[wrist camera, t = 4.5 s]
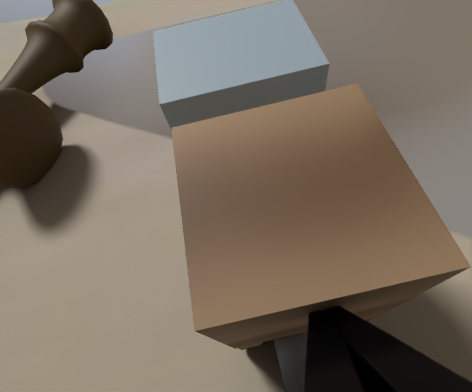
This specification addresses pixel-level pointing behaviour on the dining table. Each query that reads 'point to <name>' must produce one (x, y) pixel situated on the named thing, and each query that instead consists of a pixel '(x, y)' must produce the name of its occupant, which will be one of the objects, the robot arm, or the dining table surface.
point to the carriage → (302, 218)
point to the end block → (237, 63)
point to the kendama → (36, 75)
